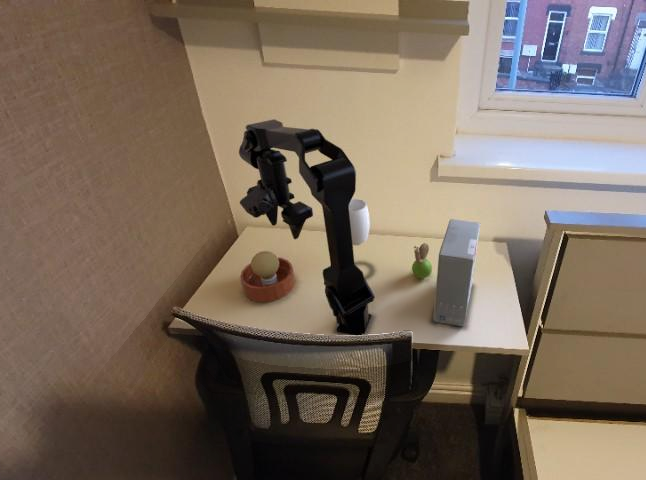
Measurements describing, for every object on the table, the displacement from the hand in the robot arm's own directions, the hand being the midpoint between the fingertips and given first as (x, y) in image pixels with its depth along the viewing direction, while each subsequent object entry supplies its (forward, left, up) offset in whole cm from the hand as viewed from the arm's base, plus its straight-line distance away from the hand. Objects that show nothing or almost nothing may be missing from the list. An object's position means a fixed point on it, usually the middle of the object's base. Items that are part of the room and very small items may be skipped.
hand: (285, 231), depth 101 cm
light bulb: (+2, +8, -12) cm, 14 cm away
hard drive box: (-45, +4, -12) cm, 47 cm away
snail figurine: (-35, -4, -12) cm, 37 cm away
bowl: (+2, +8, -12) cm, 15 cm away
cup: (-18, -3, -12) cm, 22 cm away
